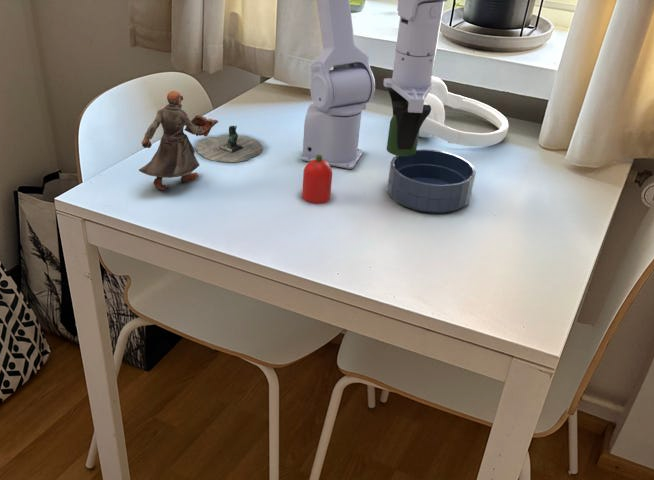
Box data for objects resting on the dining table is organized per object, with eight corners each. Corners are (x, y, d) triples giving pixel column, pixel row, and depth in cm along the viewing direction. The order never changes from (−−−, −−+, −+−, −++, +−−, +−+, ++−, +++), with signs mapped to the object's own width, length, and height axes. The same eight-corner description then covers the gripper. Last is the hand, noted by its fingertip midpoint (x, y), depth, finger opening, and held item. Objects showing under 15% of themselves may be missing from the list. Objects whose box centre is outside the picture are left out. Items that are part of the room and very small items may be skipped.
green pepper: (394, 157, 114) (400, 112, 110) (381, 145, 117) (387, 101, 113) (421, 154, 115) (428, 109, 111) (407, 143, 119) (414, 98, 114)
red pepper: (296, 194, 122) (298, 153, 117) (318, 188, 124) (321, 147, 119) (313, 206, 119) (316, 164, 114) (335, 199, 121) (339, 157, 117)
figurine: (216, 171, 127) (214, 82, 118) (228, 190, 122) (228, 99, 112) (134, 180, 123) (125, 89, 114) (143, 200, 118) (135, 106, 108)
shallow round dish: (378, 205, 120) (382, 176, 117) (396, 171, 130) (400, 144, 127) (463, 221, 117) (469, 192, 114) (474, 185, 127) (480, 157, 124)
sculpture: (266, 139, 139) (265, 118, 131) (258, 185, 138) (256, 167, 130) (203, 129, 140) (198, 108, 132) (194, 175, 138) (189, 156, 130)
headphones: (398, 140, 140) (503, 164, 138) (408, 99, 134) (518, 123, 133) (406, 104, 155) (501, 125, 153) (416, 65, 149) (514, 87, 148)
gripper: (383, 34, 113) (373, 122, 121) (392, 65, 101) (380, 160, 110) (430, 36, 113) (416, 124, 121) (444, 68, 101) (428, 162, 110)
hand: (402, 141), depth 116 cm, fingers closed on green pepper, 4 cm apart
